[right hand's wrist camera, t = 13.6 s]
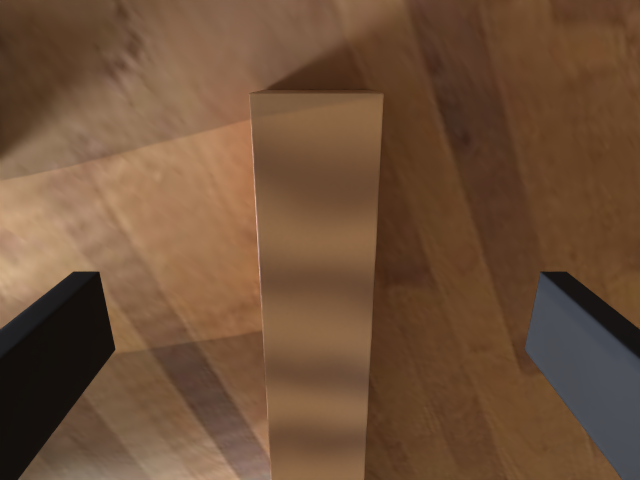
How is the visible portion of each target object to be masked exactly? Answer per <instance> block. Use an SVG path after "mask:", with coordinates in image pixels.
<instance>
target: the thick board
mask: <svg viewBox="0 0 640 480" xmlns="http://www.w3.org/2000/svg"><path fill="white" fill-rule="evenodd" d="M249 98H250V115H251V133H252V150H253V168H254V185H255V203H256V221H257V238H258V256H259V273H260V291H261V309H262V326H263V344H264V361H265V379H266V397H267V414H268V432H269V449H270V467H271V480H364V475H365V455H366V436H367V416H368V397H369V377H370V358H371V338H372V319H373V299H374V280H375V260H376V240H377V221H378V201H379V182H380V162H381V143H382V123H383V104H384V93H381V92H377V91H373V90H261V91H257V92H252V93H249Z"/></svg>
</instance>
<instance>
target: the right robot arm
mask: <svg viewBox="0 0 640 480" xmlns="http://www.w3.org/2000/svg"><path fill="white" fill-rule="evenodd" d="M114 351H115V345H114V340H113V336H112V331H111V326H110V321H109V316H108V311H107V306H106V302H105V297H104V292H103V287H102V282H101V277H100V273H99V272H72V273H71V274H70V275H69V276H67V277H66V278H65V279H64V280H62V281H61V282H60V283H59V284H57V285H56V286H55V287H54V288H52V289H51V290H50V291H48V292H47V293H46V294H45V295H43V296H42V297H41V298H40V299H38V300H37V301H36V302H35V303H33V304H32V305H31V306H29V307H28V308H27V309H26V310H24V311H23V312H22V313H21V314H19V315H18V316H17V317H16V318H14V319H13V320H12V321H10V322H9V323H8V324H7V325H5V326H4V327H3V328H2V329H0V480H18V479H19V477H20V476H21V475H22V473H23V472H24V471H25V469H26V468H27V467H28V465H29V464H30V463H31V461H32V460H33V459H34V457H35V456H36V455H37V453H38V452H39V451H40V449H41V448H42V447H43V445H44V444H45V443H46V441H47V440H48V439H49V437H50V436H51V435H52V433H53V432H54V431H55V429H56V428H57V427H58V425H59V424H60V423H61V421H62V420H63V419H64V417H65V416H66V415H67V413H68V412H69V411H70V409H71V408H72V407H73V405H74V404H75V403H76V401H77V400H78V399H79V397H80V396H81V395H82V393H83V392H84V391H85V389H86V388H87V387H88V385H89V384H90V383H91V381H92V380H93V379H94V377H95V376H96V375H97V373H98V372H99V371H100V369H101V368H102V367H103V365H104V364H105V363H106V361H107V360H108V359H109V357H110V356H111V355H112V353H113V352H114ZM525 351H526V352H527V353H528V355H529V356H530V357H531V359H532V360H533V361H534V363H535V364H536V365H537V367H538V368H539V369H540V371H541V372H542V373H543V375H544V376H545V377H546V379H547V380H548V381H549V383H550V384H551V385H552V387H553V388H554V389H555V391H556V392H557V393H558V395H559V396H560V397H561V399H562V400H563V401H564V403H565V404H566V405H567V407H568V408H569V409H570V411H571V412H572V413H573V415H574V416H575V417H576V419H577V420H578V421H579V423H580V424H581V425H582V427H583V428H584V429H585V431H586V432H587V433H588V435H589V436H590V437H591V439H592V440H593V441H594V443H595V444H596V445H597V447H598V448H599V449H600V451H601V452H602V453H603V455H604V456H605V457H606V459H607V460H608V461H609V463H610V464H611V465H612V467H613V468H614V469H615V471H616V472H617V473H618V475H619V476H620V477H621V479H622V480H640V329H638V328H637V327H636V326H635V325H633V324H632V323H631V322H630V321H628V320H627V319H626V318H624V317H623V316H622V315H621V314H619V313H618V312H617V311H616V310H614V309H613V308H612V307H611V306H609V305H608V304H607V303H605V302H604V301H603V300H602V299H600V298H599V297H598V296H597V295H595V294H594V293H593V292H592V291H590V290H589V289H588V288H586V287H585V286H584V285H583V284H581V283H580V282H579V281H578V280H576V279H575V278H574V277H573V276H571V275H570V274H569V273H568V272H541V273H540V277H539V282H538V287H537V292H536V297H535V302H534V306H533V311H532V316H531V321H530V326H529V331H528V336H527V340H526V345H525Z"/></svg>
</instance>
